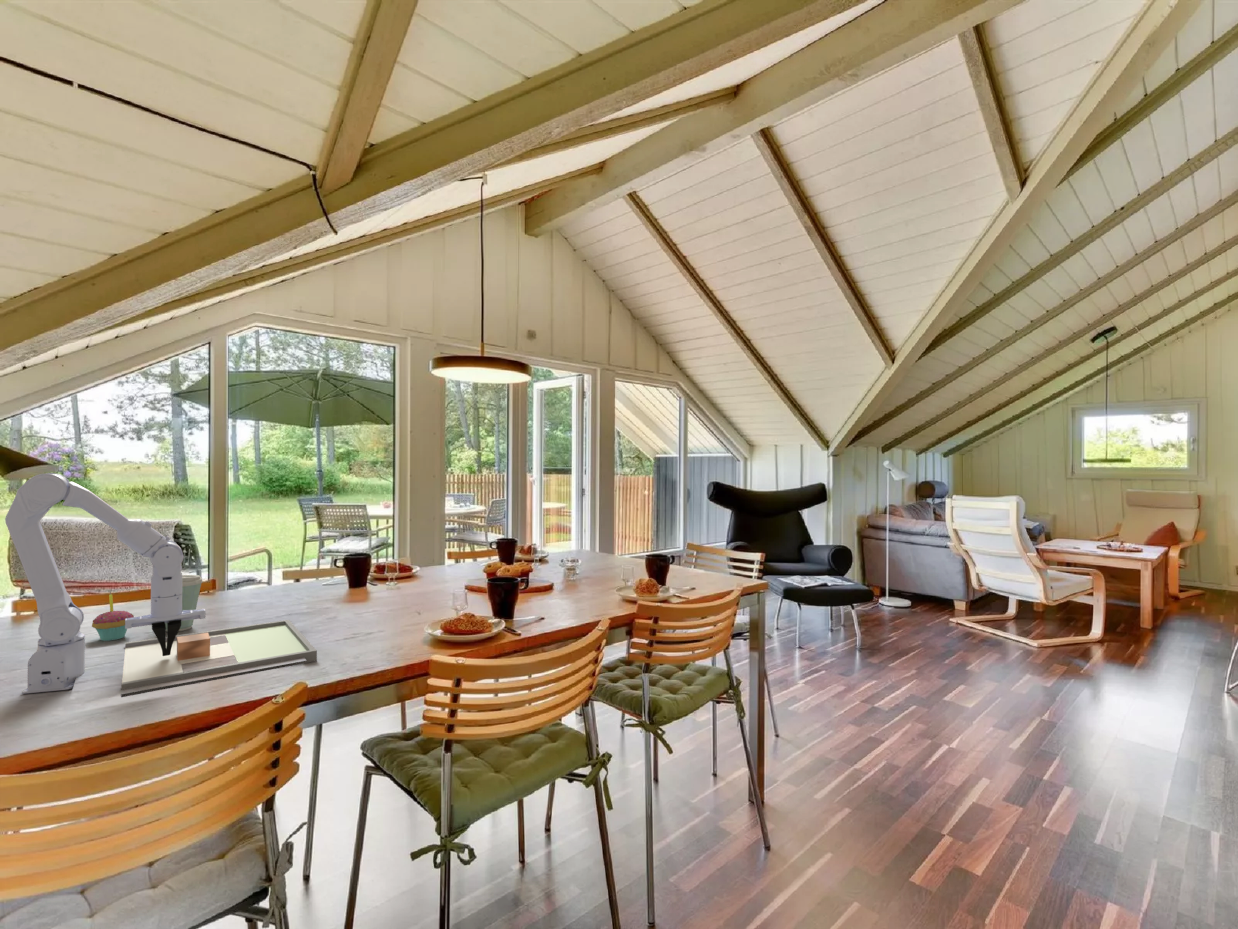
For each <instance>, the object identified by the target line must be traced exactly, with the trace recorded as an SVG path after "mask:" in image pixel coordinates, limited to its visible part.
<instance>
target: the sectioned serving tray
mask: <svg viewBox="0 0 1238 929" xmlns="http://www.w3.org/2000/svg"><path fill="white" fill-rule="evenodd" d="M202 633H208V634H209V637H210V639H211V638H218V637H224V636H225V638H226V640H227V642H225V643H218V644H213V645H212V644H210V656H205V657H198V658H192V659H186V660H180V661H178V658H177V637H180V636H187V635H195V634H202ZM124 645H125V648H124V658H123V659H124V660H123V668H122V676H121V686H120V687H121V688H120V690H122V691H124V690H127V689H133V688H139V687H145V686H149V685H150V686H151V685H155V684H156V685H157V684H161V683H167V682H174V681H178V680H184V679H189V678H196V677H200V676H207V675H211V674H218V673H223V672H228V671H236V670H240V669H245V668H251V667H252V668H253V667H256V666H261V665H268V664H274V663H279V662H280V663H281V662H285V661H291V660H297V659H301V658H304V659H305V660H303V661H297V662H296V661H295V662H290V663H285V664H279V665H274V666H270V667H263V668H257V669H252V670H246V671H241V672H236V673H230V674H226V675H219V676H214V677H209V678H204V679H203V678H202V679H197V680H192V681H187V682H186V681H185V682H181V683H175V684H169V685H165V686H158V687H153V688H149V689H148V688H147V689H141V690H137V691H133V692H132V691H131V692H126V693H121V694H120V696H121V698H125V697H129V696H135V695H141V694H146V693H151V692H156V691H162V690H167V689H168V690H169V689H173V688H178V687H179V688H180V687H184V686H190V685H195V684H200V683H206V682H211V681H217V680H221V679H223V680H224V679H227V678H232V677H237V676H243V675H248V674H249V675H250V674H253V673H260V672H264V671H269V670H270V671H271V670H277V669H281V668H282V669H283V668H287V667H292V666H299V665H304V664H309V663H314V662H317V660H318V659H317V657H318V656H317V655H318V653H317V652H318V650H317V649H316V648H315V646H314V645H312V643H311V642H310V641H309V640H308V639H307V638H306V637H305V636H304V635H303V633H301V631H300V630H299V629H298V628H297V627H296V626H295V624H293V622H292V621H291V620H290V619H284V620H277V621H271V622H270V621H269V622H263V623H255V624H247V625H241V626H233V627H226V628H219V629H213V630H207V631H206V630H205V631H199V632H192V633H191V632H190V633H185V634H184V633H183V634H177V635H176V637H175V639H174V642H173V644H172V648H171V653H170V655H167V656H163V655H162V649H161V646H160V643H159V641H158V639H157V637H155V638H149V639H148V638H147V639H142V640H135V641H134V640H133V641H128V642H127V641H126V642H125V644H124ZM166 646H167V636H166ZM232 656H234V657H235V659H236V661H237V662H234V663H229V664H224V665H216V666H211V667H206V668H200V669H194V670H187V671H183V666H182V665H184V664H189V663H190V664H191V663H197V662H203V661H208V660H215V659H220V658H228V657H232Z"/></svg>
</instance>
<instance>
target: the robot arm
mask: <svg viewBox="0 0 1238 929" xmlns="http://www.w3.org/2000/svg"><path fill="white" fill-rule="evenodd" d="M62 500H63V503H62V506H65V507H72V508H79V509H82V510H83V511H85V512H86V513H88V514H90V515H91V516H93V517H94V518H96V519H98V520H99V521H100V522H102V523H104V524H105V525H107V526H109V528H112V529H113V530H114V531H116V539H117V541H119V542H120V543H122V544H123V545H126V547H128V548H130V549H131V550H133V551H134V552H135V553H137V554H138V555H140V556H141V557H143V558H145V557H146V558H149V559H150V563H151V565H152V575H151V576H150V614H146V615H145V614H144V615H140V616H134V617H133V618H126V619H125V629H127V630H128V629H132V628H137V627H138V628H139V627H146V626H151V630H152V633H153V634H154V635H155V638H157V639H158V641H159V643H160V646H161V649H162V655H163V656H167V655H170V653H171V648H172V644H173V642H174V639H175V637H176V635H178V632H180V631H179V629H180V627H181V621H185V620H193V619H194V620H197V619H198V620H204V619H206V613H207V612H206V608H201V609H196V610H183V611H182V575H183V573H182V570H183V566H182V563H183V560H184V558H185V555H184V552H183V549H182V548H181V547H180V545H178V544H177V542H176V541H173V540H171V539H172V538H171V537H170V536H169V535H163V534H162V533H160V532H159V531H158V530H156V529H155V528H153V527H152V526H153V524H152V522H150V521H148V520H146V521H144V520H142V519H139V518H138V519H129V518H127V517H126V516H124V514H122V513H121V512H120V511H118V510H117V509H115V508H114V507H113V506H111V505H110V504H108V502H106V501H104V500H103V499H102V498H100V497H99V496H98V495H96V494H95V493H93V492H92V491H91V490H89V489H88V488H86V487H83V485H80V484H78V483H76V482H75V481H70V480H69V479H68V478H67V477H66V476H64V475H63V474H60V473H57V472H56V473H55V472H47V473H40V474H36V475H34V476H31V477H30V478H29V479H27V480H26V481H25V482H24V483H23V484H22V485H21V486H20V487H19V488H17V491H16V494H15V497H14V499H13V500H12V503H11V505H10V507H9V509H8V511H7V514H6V516H5V519H4V520H5V524H6V527H7V529H8V532H9V535H10V537H11V540H12V543H13V545H14V548H15V550H16V553H17V555H18V557H19V560H20V563H21V565H22V568H23V571H24V573H25V576H26V578H27V581H28V583H29V587H30V588H31V591H32V593H33V596H34V598H35V602H36V609H37V614H38V617H39V625H38V630H37V632H38V636H39V637H40V638H39V639H38V640H37V649H36V651H35V652H34V653H32V655H31V656H30V657H29V658H28V661H27V688H25V689H24V690H21V694H24V695H25V694H33V693H34V694H35V693H45V692H56V691H66V690H67V691H68V690H71V689H73V688H74V686H75V683H76V680H77V677H80V676H82V675H84V674H85V672H86V671H85V668H86V667H85V666H86V664H85V662H86V660H85V657H86V656H85V655H86V654H85V652H86V646H85V645H86V638H85V637H86V634H85V633H82V632H81V631H80V630H81V625H83V622H84V619H85V617H84V612H83V610H82V609H81V608H80V607H78V606H77V605H76V604H74V602H73V600H72V598H71V596H70V594H69V592H68V591H67V588H66V586H65V584H64V581H63V578H62V576H61V573H60V571H59V567H58V566H57V562H56V560H55V558H54V555H53V552H52V549H51V546H50V545H49V542H48V539H47V536H46V533H45V532H44V529H43V524H42V523H41V521H42V519H43V518H44V517H45V516H46V514H48V513H49V511H50V510H51V508H52V507H53V506H55V505H56V504H59V503H60V502H61V501H62ZM165 623H167V631H166V624H165ZM166 633H167V635H166ZM166 637H167V646H166Z"/></svg>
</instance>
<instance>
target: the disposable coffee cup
mask: <svg viewBox="0 0 1238 929" xmlns="http://www.w3.org/2000/svg"><path fill="white" fill-rule="evenodd" d="M203 582H204V581H203V577H201V575H198V574H182V611H183V610H197V605H198V600H199V596H200V592H201V591H200V590H201V587H202V583H203ZM194 620H195V619H193V620H185V621H181V627H180V629H179V631H178V632H182V631H188V630H190V629H192V626H193V624H194ZM165 624H166V632H167V623H165Z"/></svg>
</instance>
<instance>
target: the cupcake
mask: <svg viewBox="0 0 1238 929" xmlns="http://www.w3.org/2000/svg"><path fill="white" fill-rule="evenodd" d="M108 597H109V598H108V599H109V611H107V612H102V613H100V614H98V615H97V616H96V617H95V618H93V619H92V624H91V627H92V628H93V629H95V630H96V632H97V633H98V636H99V639H100V640H101V641H104V642H106V641H109V642H110V641H115V640H120V639H123V638H124V637H126V633H127V630H128V629H125V619H126V618H133V617H135V615H134V614H132V613H130V612H129V611H127V610H126V611H125V610H114V601H113V600H114V597H113V594H112V592H111V591H109V595H108Z"/></svg>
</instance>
